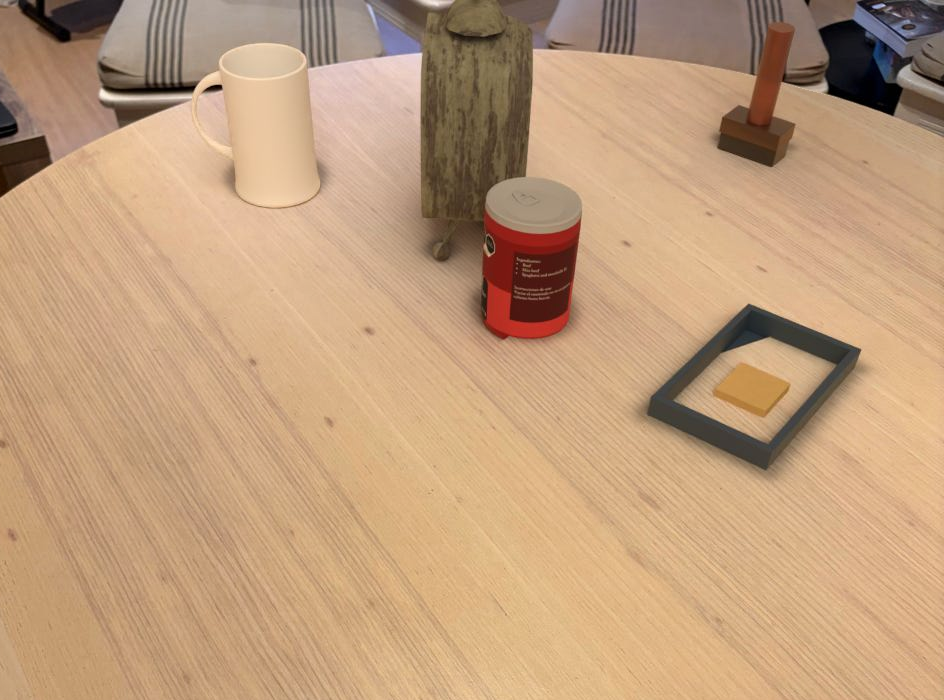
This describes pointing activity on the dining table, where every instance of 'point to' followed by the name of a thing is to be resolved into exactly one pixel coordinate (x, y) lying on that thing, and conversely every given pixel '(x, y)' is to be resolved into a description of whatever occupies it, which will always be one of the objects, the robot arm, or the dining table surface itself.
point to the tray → (735, 334)
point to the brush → (762, 106)
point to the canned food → (529, 257)
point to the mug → (266, 123)
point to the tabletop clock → (472, 109)
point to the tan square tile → (752, 389)
